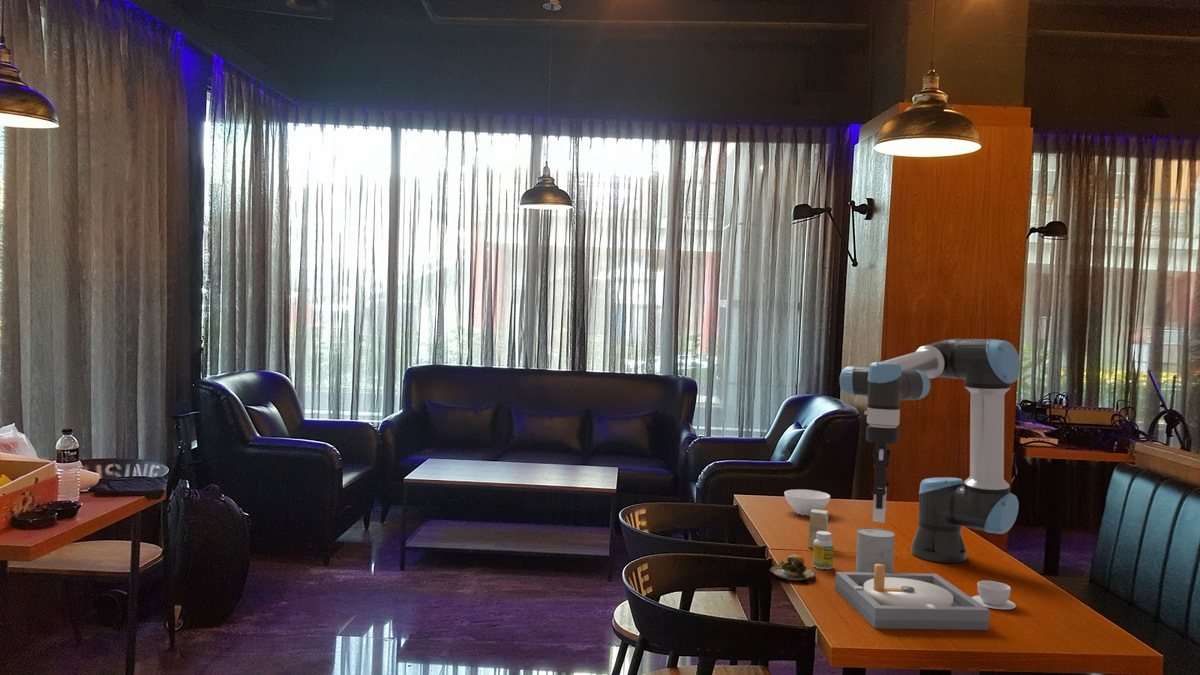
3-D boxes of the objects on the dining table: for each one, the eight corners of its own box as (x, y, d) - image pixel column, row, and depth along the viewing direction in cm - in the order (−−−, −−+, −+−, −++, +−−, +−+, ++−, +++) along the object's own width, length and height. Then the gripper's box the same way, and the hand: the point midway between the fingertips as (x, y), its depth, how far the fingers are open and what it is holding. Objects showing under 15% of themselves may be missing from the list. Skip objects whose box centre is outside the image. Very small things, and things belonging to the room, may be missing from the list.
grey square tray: (935, 591, 205) (935, 572, 205) (988, 630, 179) (989, 608, 179) (835, 589, 204) (835, 570, 204) (874, 628, 178) (875, 606, 178)
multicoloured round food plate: (761, 573, 217) (762, 545, 217) (796, 569, 222) (797, 542, 222) (788, 587, 206) (789, 558, 206) (825, 582, 211) (826, 554, 211)
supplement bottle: (821, 563, 227) (822, 529, 227) (836, 568, 223) (838, 533, 222) (808, 565, 224) (809, 531, 224) (823, 571, 220) (824, 536, 219)
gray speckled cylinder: (892, 575, 218) (894, 530, 218) (893, 585, 209) (895, 538, 209) (855, 570, 221) (857, 526, 221) (854, 580, 212) (856, 534, 212)
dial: (929, 585, 202) (930, 554, 202) (969, 614, 182) (970, 579, 182) (851, 584, 201) (852, 552, 201) (882, 613, 181) (884, 578, 181)
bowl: (785, 517, 281) (785, 497, 281) (782, 507, 297) (783, 488, 297) (832, 520, 279) (832, 500, 279) (826, 510, 295) (827, 491, 294)
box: (807, 547, 243) (809, 511, 242) (809, 544, 247) (811, 508, 246) (825, 550, 241) (827, 513, 240) (827, 546, 245) (828, 510, 244)
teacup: (1013, 614, 191) (1014, 594, 191) (968, 605, 196) (968, 586, 196) (1017, 602, 199) (1018, 584, 199) (973, 594, 204) (974, 576, 204)
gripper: (868, 420, 207) (864, 506, 208) (864, 429, 186) (860, 525, 187) (899, 422, 205) (895, 509, 205) (899, 432, 184) (895, 529, 184)
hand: (879, 517), depth 196 cm, fingers open, 10 cm apart
